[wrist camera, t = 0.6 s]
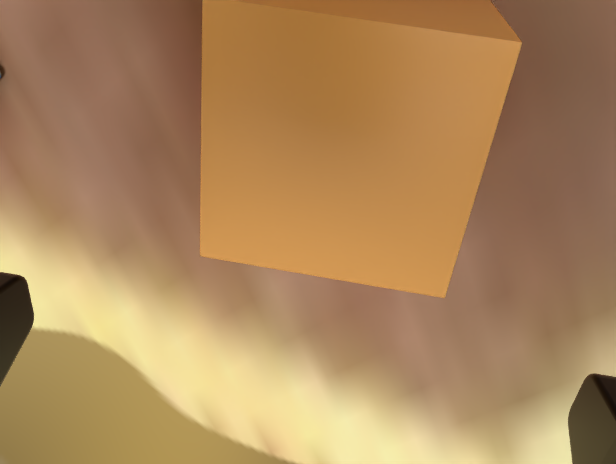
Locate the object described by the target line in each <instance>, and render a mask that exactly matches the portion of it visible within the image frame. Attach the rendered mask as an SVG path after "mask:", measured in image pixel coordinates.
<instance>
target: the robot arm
mask: <svg viewBox="0 0 616 464" xmlns="http://www.w3.org/2000/svg"><path fill="white" fill-rule="evenodd" d="M33 321H34V312H33V307H32V303H31V298H30V293H29V288H28V284H27V281H26V280H25V278H24V277H22V276H20V275H15V274H9V273H3V272H0V386H1V384H2V382H3V381H4V379H5V377H6V375H7V373H8V371H9V369H10V367H11V366H12V364H13V362H14V360H15V358H16V356H17V354H18V352H19V351H20V349H21V347H22V345H23V343H24V341H25V339H26V337H27V336H28V334H29V332H30V330H31V328H32V325H33ZM568 427H569V436H570V445H571V454H572V463H573V464H616V377H612V376H607V375H601V374H590V375H588V376H587V377H586V378H585V380H584V382H583V384H582V386H581V388H580V390H579V392H578V394H577V396H576V398H575V400H574V402H573V404H572V406H571V409H570V412H569V417H568Z"/></svg>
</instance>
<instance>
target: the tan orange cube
mask: <svg viewBox="0 0 616 464" xmlns="http://www.w3.org/2000/svg"><path fill="white" fill-rule="evenodd" d="M521 45H522V41H521V40H520V39H519V38H518V36H517V35H516V34H515V32H514V31H513V30H512V28H511V27H510V26H509V24H508V23H507V22H506V21H505V19H504V18H503V17H502V15H501V14H500V13H499V11H498V10H497V9H496V8H495V6H494V5H493V4H492V2H491V1H490V0H202V95H201V197H200V256H202V257H208V258H214V259H220V260H226V261H232V262H237V263H243V264H249V265H255V266H261V267H266V268H272V269H278V270H284V271H290V272H296V273H301V274H307V275H313V276H319V277H325V278H330V279H336V280H342V281H348V282H354V283H360V284H365V285H371V286H377V287H383V288H389V289H394V290H400V291H406V292H412V293H418V294H424V295H429V296H435V297H441V298H445V295H446V292H447V289H448V285H449V282H450V279H451V276H452V272H453V269H454V266H455V262H456V259H457V256H458V253H459V249H460V246H461V243H462V239H463V236H464V233H465V229H466V226H467V223H468V220H469V216H470V213H471V210H472V206H473V203H474V200H475V197H476V193H477V190H478V187H479V183H480V180H481V177H482V174H483V170H484V167H485V164H486V160H487V157H488V154H489V150H490V147H491V144H492V141H493V137H494V134H495V131H496V127H497V124H498V121H499V118H500V114H501V111H502V108H503V104H504V101H505V98H506V95H507V91H508V88H509V85H510V81H511V78H512V75H513V71H514V68H515V65H516V62H517V58H518V55H519V52H520V48H521Z"/></svg>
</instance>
